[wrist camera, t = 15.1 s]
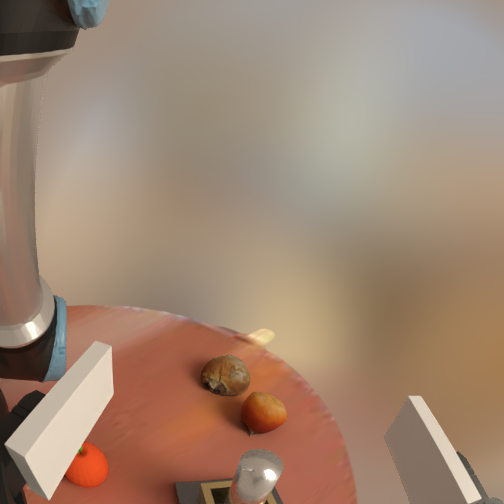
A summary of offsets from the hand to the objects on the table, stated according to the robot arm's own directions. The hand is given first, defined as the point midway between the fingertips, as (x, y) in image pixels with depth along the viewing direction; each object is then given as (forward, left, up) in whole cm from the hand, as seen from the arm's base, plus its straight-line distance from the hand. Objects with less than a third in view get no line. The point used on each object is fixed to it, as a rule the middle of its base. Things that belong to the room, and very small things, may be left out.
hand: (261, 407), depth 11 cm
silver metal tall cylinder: (+7, +8, -31) cm, 33 cm away
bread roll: (+13, +40, -32) cm, 53 cm away
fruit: (+17, +27, -32) cm, 45 cm away
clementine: (-13, +16, -32) cm, 38 cm away
